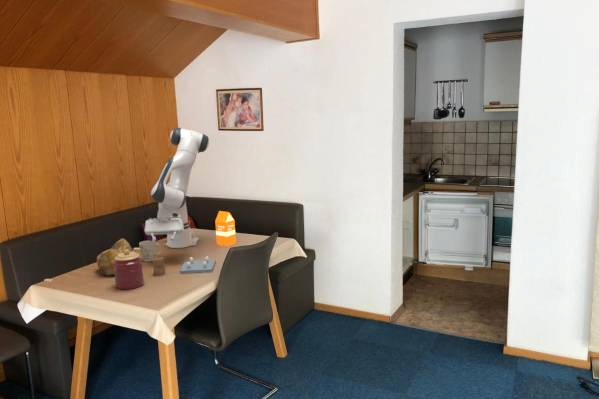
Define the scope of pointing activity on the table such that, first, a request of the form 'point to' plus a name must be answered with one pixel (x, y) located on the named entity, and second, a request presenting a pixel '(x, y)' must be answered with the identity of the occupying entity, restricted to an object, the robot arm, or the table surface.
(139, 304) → the table surface
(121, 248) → the rough brown rock
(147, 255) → the mug
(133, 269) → the canister
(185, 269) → the peg seat
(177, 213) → the robot arm
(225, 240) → the orange juice
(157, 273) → the walnut block
